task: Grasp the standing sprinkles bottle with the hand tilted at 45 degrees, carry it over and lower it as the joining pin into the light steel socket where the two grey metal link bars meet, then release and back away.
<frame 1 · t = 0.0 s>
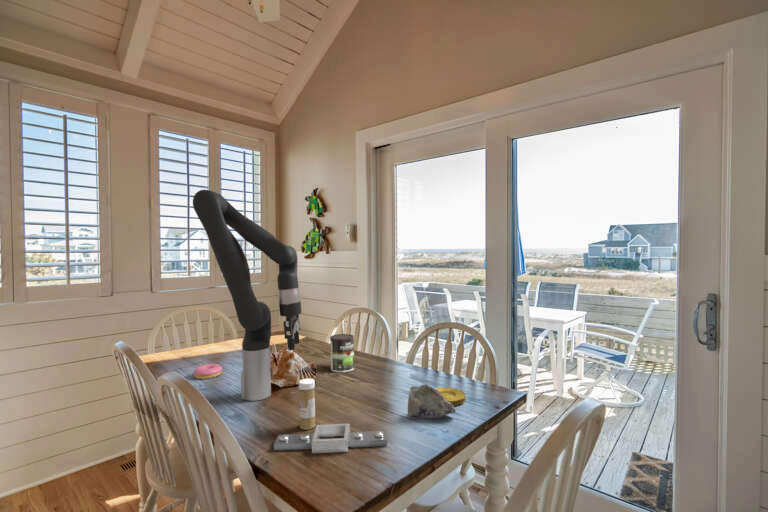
hand: (294, 346, 133), 17 cm above the table, tool pointing down, fingers open, 8 cm apart
sprinkles bottle: (307, 427, 108), on the table
left link bar: (295, 444, 98), on the table
mineral rock: (429, 418, 112), on the table
doughnut: (208, 376, 156), on the table
coffee can: (342, 369, 161), on the table
gold slotted disc: (447, 401, 125), on the table
link socket: (331, 443, 98), on the table
right link bar: (367, 441, 99), on the table
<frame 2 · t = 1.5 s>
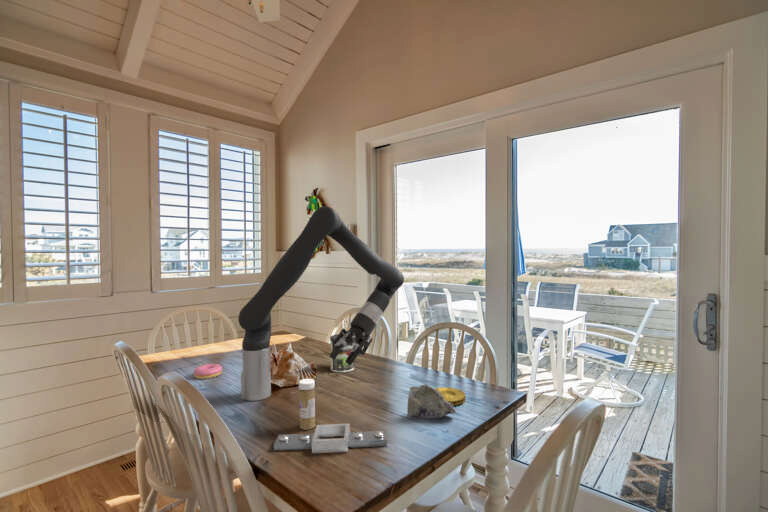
hand: (339, 360, 116), 17 cm above the table, tool tilted 45°, fingers open, 8 cm apart
nothing on the table moved.
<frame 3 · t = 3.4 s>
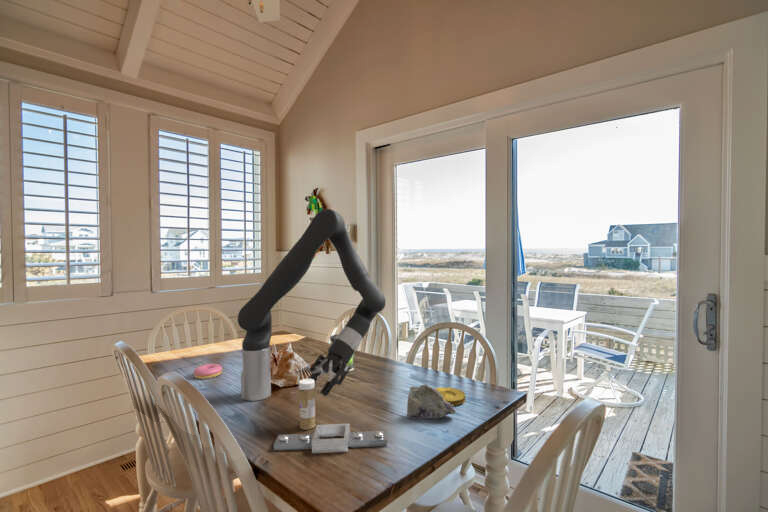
hand: (315, 390, 110), 10 cm above the table, tool tilted 45°, fingers open, 8 cm apart
nothing on the table moved.
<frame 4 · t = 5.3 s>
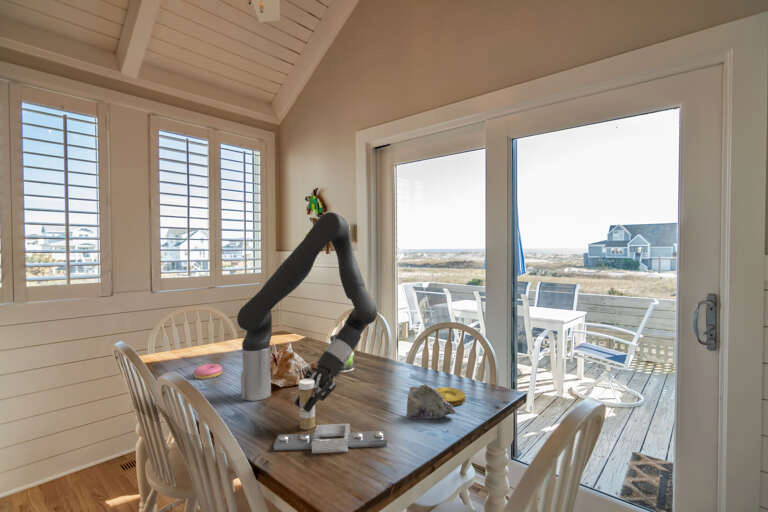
hand: (301, 407, 107), 6 cm above the table, tool tilted 45°, fingers closed on sprinkles bottle, 4 cm apart
sprinkles bottle: (307, 427, 108), on the table, touching gripper
everything else where it was.
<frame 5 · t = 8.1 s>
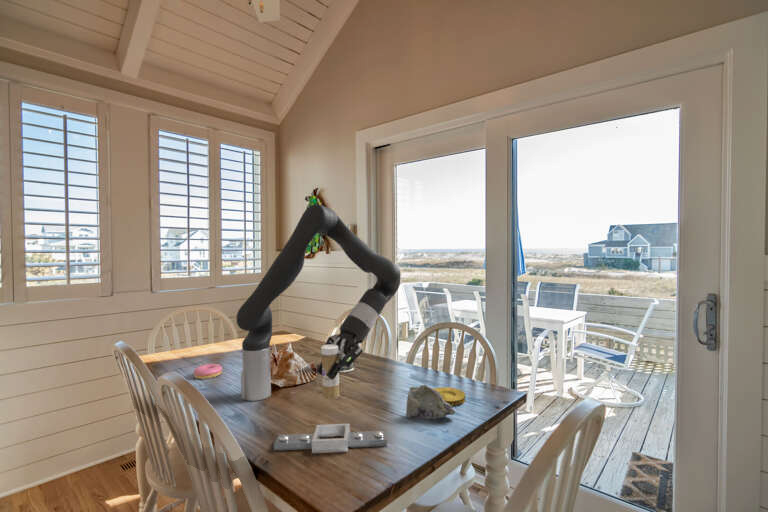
hand: (324, 375, 97), 18 cm above the table, tool tilted 45°, fingers closed on sprinkles bottle, 4 cm apart
sprinkles bottle: (331, 397, 98), point 12 cm above the table, touching gripper
everything else where it was.
when the fingers open (7 cm above the table, at t = 10.9 s): sprinkles bottle drops 1 cm, resting in link socket.
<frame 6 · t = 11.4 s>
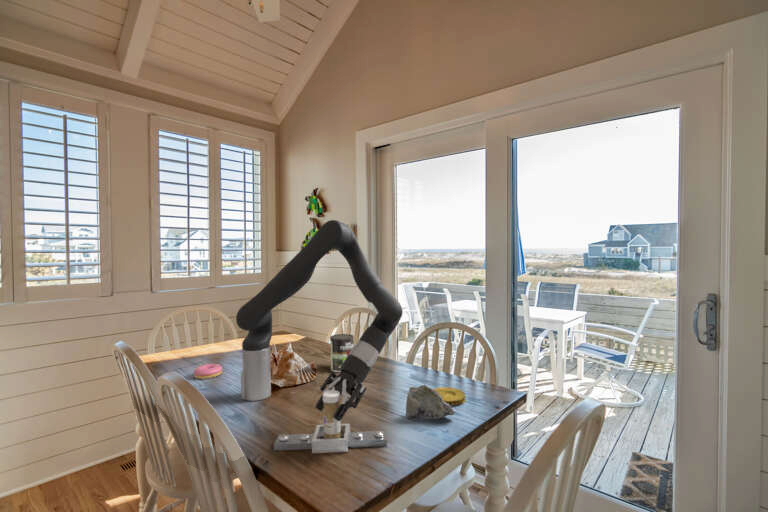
hand: (326, 414, 97), 8 cm above the table, tool tilted 45°, fingers open, 8 cm apart
sprinkles bottle: (332, 443, 98), resting in link socket
everything else where it was.
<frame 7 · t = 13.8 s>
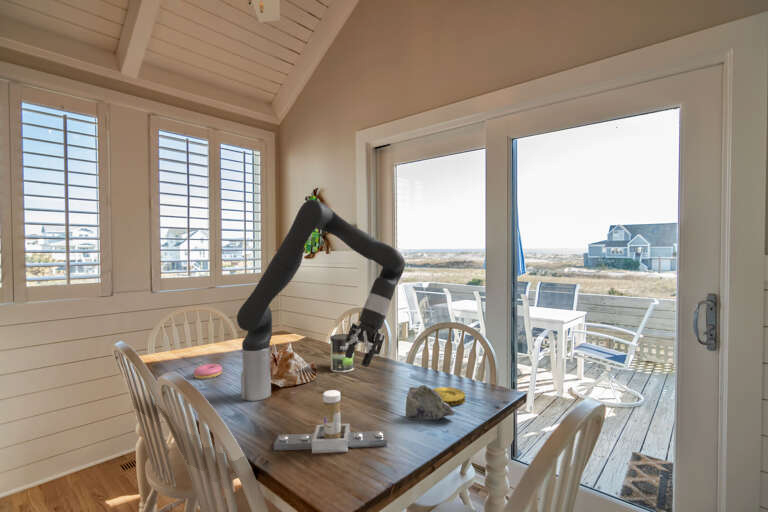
hand: (355, 361, 112), 17 cm above the table, tool tilted 25°, fingers open, 8 cm apart
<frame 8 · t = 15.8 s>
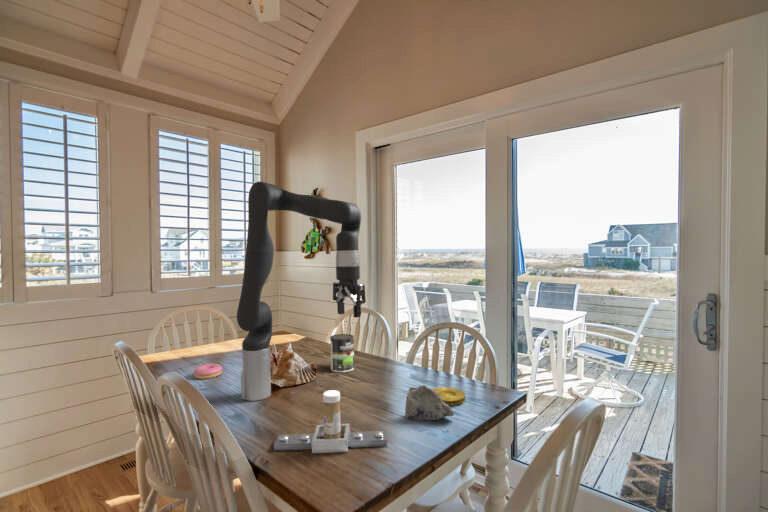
hand: (349, 315, 119), 30 cm above the table, tool pointing down, fingers open, 8 cm apart
at the end: sprinkles bottle 0.2 cm off-centre on the link socket, point 0.0 cm above the link socket's base; sprinkles bottle tilted 0°; the gripper is holding nothing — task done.
